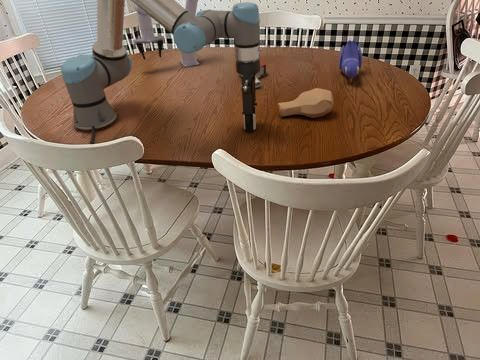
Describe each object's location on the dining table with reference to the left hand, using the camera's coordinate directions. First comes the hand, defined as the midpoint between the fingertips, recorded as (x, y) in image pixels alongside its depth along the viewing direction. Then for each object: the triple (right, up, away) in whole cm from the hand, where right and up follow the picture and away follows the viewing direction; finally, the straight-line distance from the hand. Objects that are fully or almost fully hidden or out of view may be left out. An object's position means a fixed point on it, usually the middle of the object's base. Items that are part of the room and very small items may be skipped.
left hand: (250, 127), depth 123 cm
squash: (+20, +6, +7) cm, 22 cm away
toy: (+45, +27, +34) cm, 62 cm away
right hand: (-46, +41, +50) cm, 80 cm away
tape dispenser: (+2, +27, +38) cm, 47 cm away
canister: (0, 0, 0) cm, 0 cm away
